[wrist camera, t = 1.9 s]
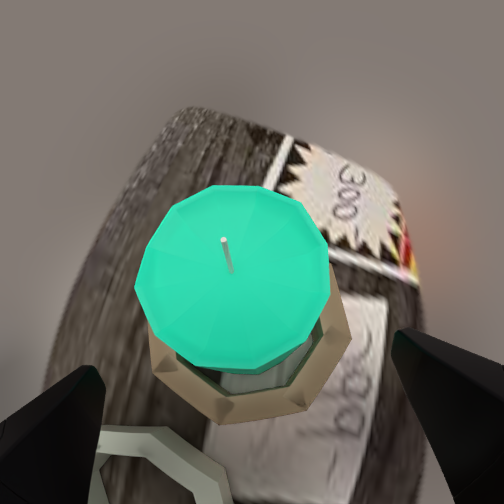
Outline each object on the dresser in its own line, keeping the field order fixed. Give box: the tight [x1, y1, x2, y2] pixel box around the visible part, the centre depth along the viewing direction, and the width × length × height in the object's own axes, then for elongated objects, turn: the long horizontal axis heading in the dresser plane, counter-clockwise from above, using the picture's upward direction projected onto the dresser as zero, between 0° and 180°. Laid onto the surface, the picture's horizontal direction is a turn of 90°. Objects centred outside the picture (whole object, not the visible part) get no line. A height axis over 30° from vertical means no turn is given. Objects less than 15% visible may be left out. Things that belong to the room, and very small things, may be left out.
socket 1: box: [88, 425, 234, 504], centre depth 11 cm, size 11×11×3 cm
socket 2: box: [148, 263, 352, 425], centre depth 16 cm, size 11×11×3 cm
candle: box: [134, 185, 330, 375], centre depth 12 cm, size 6×6×12 cm
